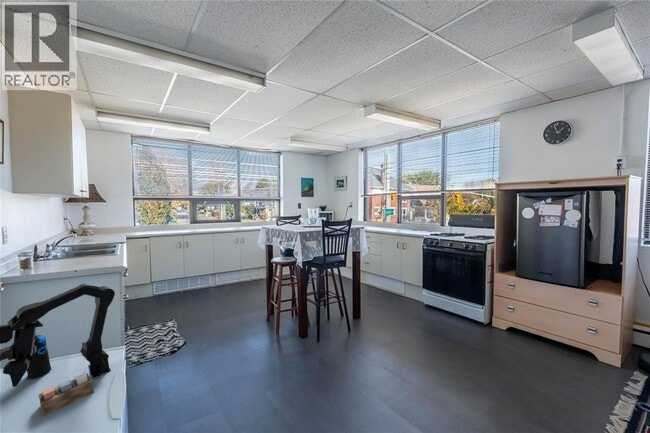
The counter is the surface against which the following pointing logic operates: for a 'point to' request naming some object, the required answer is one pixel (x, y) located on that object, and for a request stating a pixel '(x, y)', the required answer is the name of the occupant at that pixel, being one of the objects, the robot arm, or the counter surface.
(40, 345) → the aerosol can
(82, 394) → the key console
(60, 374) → the counter surface
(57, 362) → the counter surface
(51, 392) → the key terracotta
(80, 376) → the key cream
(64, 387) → the key blue
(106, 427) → the counter surface
